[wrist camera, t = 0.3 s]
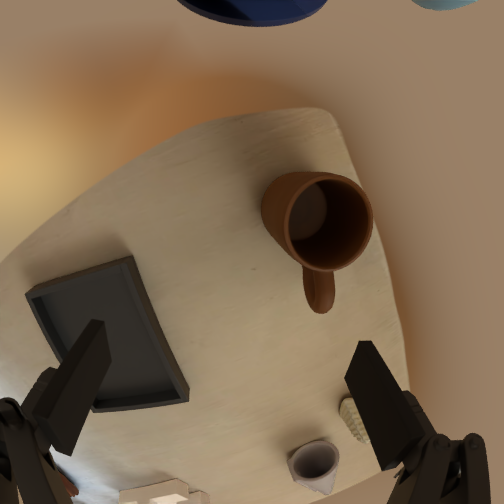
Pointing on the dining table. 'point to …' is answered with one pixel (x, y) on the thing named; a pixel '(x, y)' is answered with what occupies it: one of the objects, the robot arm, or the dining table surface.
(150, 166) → the dining table surface
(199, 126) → the dining table surface
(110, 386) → the tray
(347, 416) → the seashell
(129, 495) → the block with arch cutout
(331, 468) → the planter
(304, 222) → the mug
